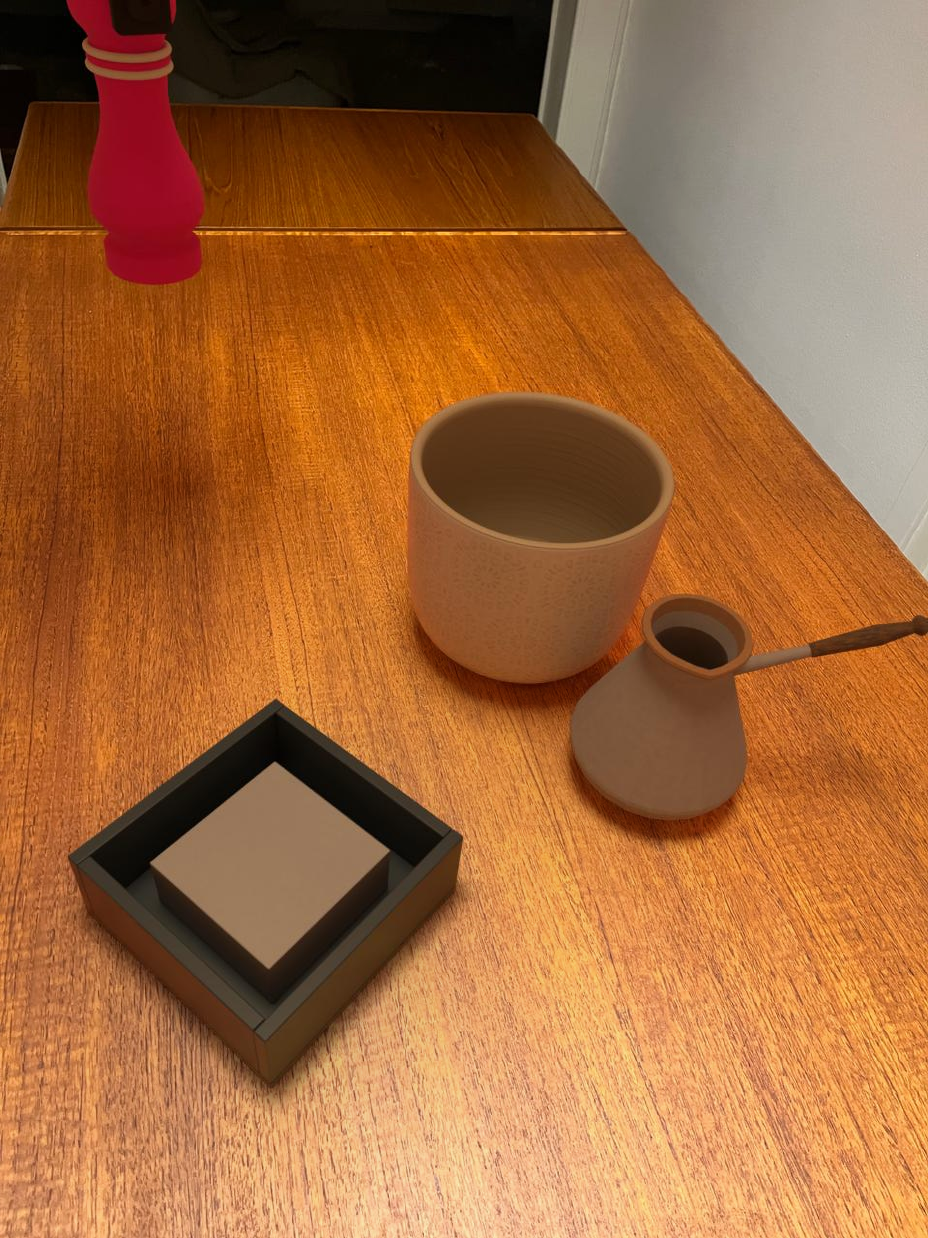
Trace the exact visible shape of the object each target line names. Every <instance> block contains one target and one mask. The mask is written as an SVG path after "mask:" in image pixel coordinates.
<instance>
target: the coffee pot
mask: <svg viewBox="0 0 928 1238" xmlns="http://www.w3.org/2000/svg"><path fill="white" fill-rule="evenodd" d="M640 625H641V635H642V636H643V639H644V640H643V641H642V642H641V643H640V644H639V645H638V646H637V647H635V648H634V649H633V650H632V651H631V652H630V653H628V654H627V655H626V656H625V657H624V658H622V660H621V661H619V662H618V663H617V664H615V666H614V667H612V668H611V669H610V670H609V671H607V672H606V673H605V674H604V675H603V676H602V677H601V678H599V679H598V680H597V681H596V682H595V683H594V684H593V685H591V686H590V687H589V688H588V689H587V690H586V691H585V693H584V694H583V695H582V696H581V697H580V699H578V701H577V703H576V704H575V707H574V709H573V712H572V715H571V717H570V720H569V722H570V723H569V741H570V745H571V749H572V751H573V755H574V758H575V761H576V764H577V765H578V767H579V769H580V770H581V772H582V774H583V775H584V777H585V779H586V780H587V781H588V783H589V784H590V785H591V786H592V787H593V788H594V789H595V790H596V791H597V792H598V793H599V794H601V796H602V797H604V799H606V800H608V801H610V802H611V803H612V804H614V805H616V806H618V807H619V808H621V809H623V810H624V811H627V812H630V813H633V814H635V815H639V816H641V817H644V818H647V819H653V820H654V819H655V820H663V821H670V822H671V821H678V820H679V821H681V820H690V819H691V820H692V819H693V818H696V817H699V816H702V815H705V814H707V813H710V812H712V811H714V810H716V809H718V808H720V806H722V805H724V804H725V803H726V802H727V801H729V800H730V799H731V798H733V796H735V794H736V792H737V791H738V789H739V788H740V786H741V785H742V783H743V781H744V780H745V777H746V772H747V766H748V761H749V755H748V749H747V743H746V742H747V741H746V736H745V731H744V725H743V724H744V723H743V718H742V712H741V707H740V702H739V696H738V690H737V685H736V679H735V677H736V676H741V675H744V674H749V673H752V672H756V671H760V670H763V669H768V668H773V667H776V666H780V665H785V664H789V663H793V662H796V661H800V660H804V659H807V658H812V659H813V658H820V657H824V656H830V655H835V654H842V653H847V652H854V651H859V650H865V649H871V648H876V647H882V646H884V645H887V644H889V643H892V642H894V641H895V642H896V641H897V640H900V639H903V638H905V637H908V636H911V635H913V634H915V635H917V636H920V637H924V636H926V635H927V634H928V617H926V616H923V615H921V614H917V615H915V616H913V618H912V619H911V621H909V620H908V621H898V622H890V623H889V622H888V623H876V624H872V625H869V626H865V627H861V628H858V629H854V630H851V631H848V632H847V631H846V632H844V633H841V634H837V635H833V636H829V637H825V638H822V639H819V640H815V641H812V642H808V644H804V645H799V646H794V647H790V648H784V649H779V650H773V651H770V652H764V653H760V654H755V655H752V654H753V649H754V640H753V634H752V632H751V629H750V628H749V625H748V624H747V622H746V621H745V620H744V619H743V617H741V615H740V614H739V613H738V612H736V611H735V610H734V609H733V608H731V607H730V606H728V605H726V604H724V603H722V602H721V601H718V600H716V599H714V598H711V597H708V596H705V595H701V594H695V593H688V592H687V593H672V594H668V595H666V596H665V595H664V596H662V597H660V598H658V599H657V600H655V601H653V602H651V604H650V605H649V606H648V607H647V608H646V609H645V610H644V612H643V615H642V618H641V621H640Z"/></svg>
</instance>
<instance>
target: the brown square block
mask: <svg viewBox="0 0 928 1238" xmlns="http://www.w3.org/2000/svg"><path fill="white" fill-rule="evenodd" d="M389 862H390V850H389V849H388V848H387V847H385V846H384V845H383V844H381V843H380V842H379V841H377V840H376V839H375V838H374V837H372V836H371V835H370V834H368V833H367V832H366V831H364V830H363V829H362V828H361V827H359V826H358V825H357V824H355V823H354V822H353V821H352V820H350V819H349V818H348V817H346V816H345V815H344V814H342V813H341V812H340V811H339V810H337V809H336V808H335V807H333V806H332V805H331V804H329V803H328V802H327V801H326V800H324V799H323V798H322V797H320V796H319V795H318V794H317V793H315V792H314V791H313V790H311V789H310V788H309V787H307V786H306V785H305V784H304V783H302V782H301V781H300V780H298V779H297V778H296V777H294V776H293V775H292V774H291V773H289V772H288V771H287V770H285V769H284V768H283V767H282V766H280V765H279V764H278V763H276V762H274V763H272V764H271V765H270V766H269V767H267V768H266V769H265V770H264V771H262V772H261V773H260V774H259V775H258V776H256V777H255V778H254V779H253V780H251V781H250V782H249V783H248V784H246V785H245V786H244V787H243V788H241V789H240V790H239V791H238V792H237V793H235V794H234V795H233V796H232V797H230V798H229V799H228V800H227V801H225V802H224V803H223V804H222V805H220V806H219V807H218V808H217V809H216V810H214V811H213V812H212V813H211V814H209V815H208V816H207V817H206V818H204V819H203V820H202V821H201V822H199V823H198V824H197V825H196V826H195V827H193V828H192V829H191V830H190V831H188V832H187V833H186V834H185V835H183V836H182V837H181V838H180V839H178V840H177V841H176V842H175V843H174V844H172V845H171V846H170V847H169V848H167V849H166V850H165V851H164V852H162V853H161V854H160V855H159V856H158V857H156V858H155V859H154V860H153V861H151V862H150V865H151V869H152V873H153V877H154V881H155V885H156V888H157V892H158V896H159V900H160V902H161V903H162V904H163V905H164V906H166V907H167V908H168V909H169V910H170V911H171V912H172V913H173V914H174V915H175V916H177V917H178V918H179V919H180V920H181V921H182V922H183V923H184V924H185V925H186V926H187V927H189V928H190V929H191V930H192V931H193V932H194V933H195V934H196V935H197V936H198V937H199V938H201V939H202V940H203V941H204V942H205V943H206V944H207V945H208V946H209V947H210V948H212V949H213V950H214V951H215V952H216V953H217V954H218V955H219V956H220V957H221V958H222V959H224V960H225V961H226V962H227V963H228V964H229V965H230V966H231V967H232V968H233V969H234V970H236V971H237V972H238V973H239V974H240V975H241V976H242V977H243V978H244V979H245V980H246V981H248V982H249V983H250V984H251V985H252V986H253V987H254V988H255V989H256V990H257V991H259V992H260V993H261V994H262V995H263V996H264V997H265V998H266V999H267V1000H268V1001H269V1002H271V1003H272V1004H274V1003H275V1002H276V1001H277V1000H278V999H279V998H280V997H281V996H282V995H283V994H284V993H285V992H286V991H287V990H288V989H289V988H290V987H291V985H292V984H293V983H294V982H295V981H296V980H297V979H298V978H299V977H300V976H301V975H302V974H303V973H304V972H305V971H306V970H307V969H308V968H309V967H310V966H311V965H312V964H313V963H314V962H315V961H316V960H317V959H318V958H319V957H320V956H321V955H322V954H323V953H324V952H325V951H326V950H327V949H328V948H329V947H330V946H331V945H332V944H333V943H334V942H335V941H336V940H337V939H338V938H339V937H340V936H341V935H342V934H343V933H344V932H345V931H346V930H347V929H348V928H349V927H350V926H351V925H352V924H353V923H354V922H355V921H356V920H357V919H358V918H359V917H360V916H361V915H362V914H363V913H364V912H365V911H366V910H367V909H368V908H369V907H370V906H371V905H372V904H373V903H374V902H375V901H376V900H377V899H378V898H379V897H380V896H381V894H382V893H383V892H384V891H385V890H386V889H387V888H388V878H389Z"/></svg>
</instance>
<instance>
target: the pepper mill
mask: <svg viewBox="0 0 928 1238" xmlns="http://www.w3.org/2000/svg"><path fill="white" fill-rule="evenodd" d="M66 4H67V7H68V10H69V13H70V14H71V17H72V18H73V20H74V21H75V22H76V23H77V25H79V26H80V27H81V28H82V29H83V31H84V32H85V34H86V35H87V37H86V38H85V39H83V41H82V43H81V44H82V45H81V46H82V49H83V51H84V52H85V57H86V58H85V60H84V64H85V67H86V68H87V69H88V70H89V72H91V73H93V74H94V75H93V76H94V79H95V83H96V87H97V91H98V102H99V113H100V114H99V124H98V125H99V126H98V133H97V138H96V142H95V145H94V150H93V154H92V158H91V162H90V166H89V169H88V180H87V196H88V206H89V209H90V213H91V215H92V216H93V217H94V219H95V221H96V222H97V223H98V224H99V225H100V226H101V227H102V228H103V229H104V230H105V231H106V232H108V233H106V235H105V237H104V238H103V250H104V256H105V262H106V266H107V269H108V270H109V272H111V273H112V274H113V275H114V276H115V277H117V278H118V279H120V280H123V281H126V282H129V283H132V284H139V285H145V286H146V285H147V286H160V285H171V284H175V283H180V282H181V283H182V282H183V281H185V280H188V279H191V278H193V277H194V276H195V275H197V274H198V273H199V272H200V271H201V269H202V266H203V256H202V246H201V245H202V244H201V239H200V236H198V235H197V233H196V232H194V230H195V229H196V228H197V227H198V225H199V224H200V222H201V220H202V219H203V217H204V214H205V205H206V204H205V198H204V193H203V186H202V184H201V181H200V178H199V175H198V173H197V169H196V168H195V166H194V164H193V162H192V160H191V158H190V156H189V155H188V152H187V151H186V149H185V147H184V144H183V143H182V141H181V138H180V136H179V134H178V130H177V128H176V124H175V122H174V118H173V115H172V109H171V104H170V98H169V89H168V86H169V85H168V75H169V74H170V73H172V71H173V70H174V63H173V60H172V56H171V53H172V51H173V48H172V45H171V43H170V42H169V41H168V40H166V38H165V37H166V35H167V34H154V35H134V36H121V35H119V34H118V33H117V32H115V31H114V29H113V27H112V20H111V13H110V6H109V0H66ZM170 7H171V18H172V24H173V23H174V21H175V18H176V13H177V0H170Z"/></svg>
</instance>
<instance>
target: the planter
mask: <svg viewBox="0 0 928 1238" xmlns="http://www.w3.org/2000/svg"><path fill="white" fill-rule="evenodd" d="M674 475H675V474H674V471H673V468H672V465H671V463H670V461H669V459H668V457H667V455H666V454H665V452H664V451H663V450H662V448H661V447H660V446H659V444H657V442H656V441H655V440H654V439H653V438H652V437H651V436H650V435H649V434H648V433H646V432H645V431H644V430H642V428H640V427H639V426H637V425H636V424H634V423H633V422H631V421H630V420H628V419H627V418H625V417H623V416H621V415H620V414H617V413H615V412H614V411H611V410H609V409H606V408H604V407H602V406H599V405H597V404H594V403H591V402H587V401H585V400H581V399H578V398H575V397H570V396H565V395H560V394H555V393H547V392H537V391H503V392H492V393H486V394H485V393H484V394H481V395H476V396H472V397H468V398H465V399H462V400H459V401H456V402H454V403H452V404H450V405H448V406H445V407H444V408H442V409H440V410H439V411H437V412H436V413H434V414H433V415H432V416H430V417H429V418H428V419H427V420H426V421H425V422H424V423H423V424H422V425H421V426H420V427H419V429H418V431H417V432H416V434H415V435H414V438H413V440H412V441H411V446H410V451H409V463H408V482H407V483H408V484H407V485H408V486H407V525H406V526H407V527H406V528H407V530H406V564H407V567H406V569H407V578H408V579H407V580H408V587H409V594H410V597H411V598H410V600H411V603H412V607H413V609H414V612H415V615H416V618H417V620H418V622H419V624H420V626H421V627H422V629H423V631H424V632H425V634H426V635H427V637H428V638H429V640H431V642H432V643H433V644H434V645H435V646H436V647H437V648H438V649H439V650H440V651H441V652H442V653H443V654H444V655H446V657H448V658H450V660H452V661H454V662H455V663H457V664H458V665H459V666H462V667H463V668H465V669H467V670H469V671H471V672H473V673H475V674H478V675H480V676H482V677H486V678H489V679H492V680H496V681H501V682H505V683H506V682H507V683H513V684H541V683H543V684H544V683H549V682H555V681H558V680H564V679H567V678H570V677H572V676H575V675H577V674H579V673H581V672H583V671H585V670H587V669H589V668H590V667H592V666H593V665H595V664H596V663H598V662H599V661H600V660H601V659H603V658H604V657H605V656H606V655H607V654H608V653H609V652H611V650H612V649H613V648H614V647H615V646H616V644H618V642H619V640H620V639H621V637H622V636H623V635H624V633H625V631H626V630H627V627H628V625H629V623H630V621H631V620H632V618H633V615H634V614H635V611H636V609H637V606H638V604H639V601H640V599H641V597H642V594H643V591H644V589H645V586H646V583H647V580H648V578H649V575H650V571H651V568H652V565H653V562H654V559H655V555H656V554H657V550H658V547H659V545H660V541H661V539H662V535H663V532H664V530H665V527H666V523H667V521H668V518H669V515H670V511H671V507H672V504H673V500H674V497H675V496H674V495H675V488H676V481H675V476H674Z"/></svg>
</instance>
